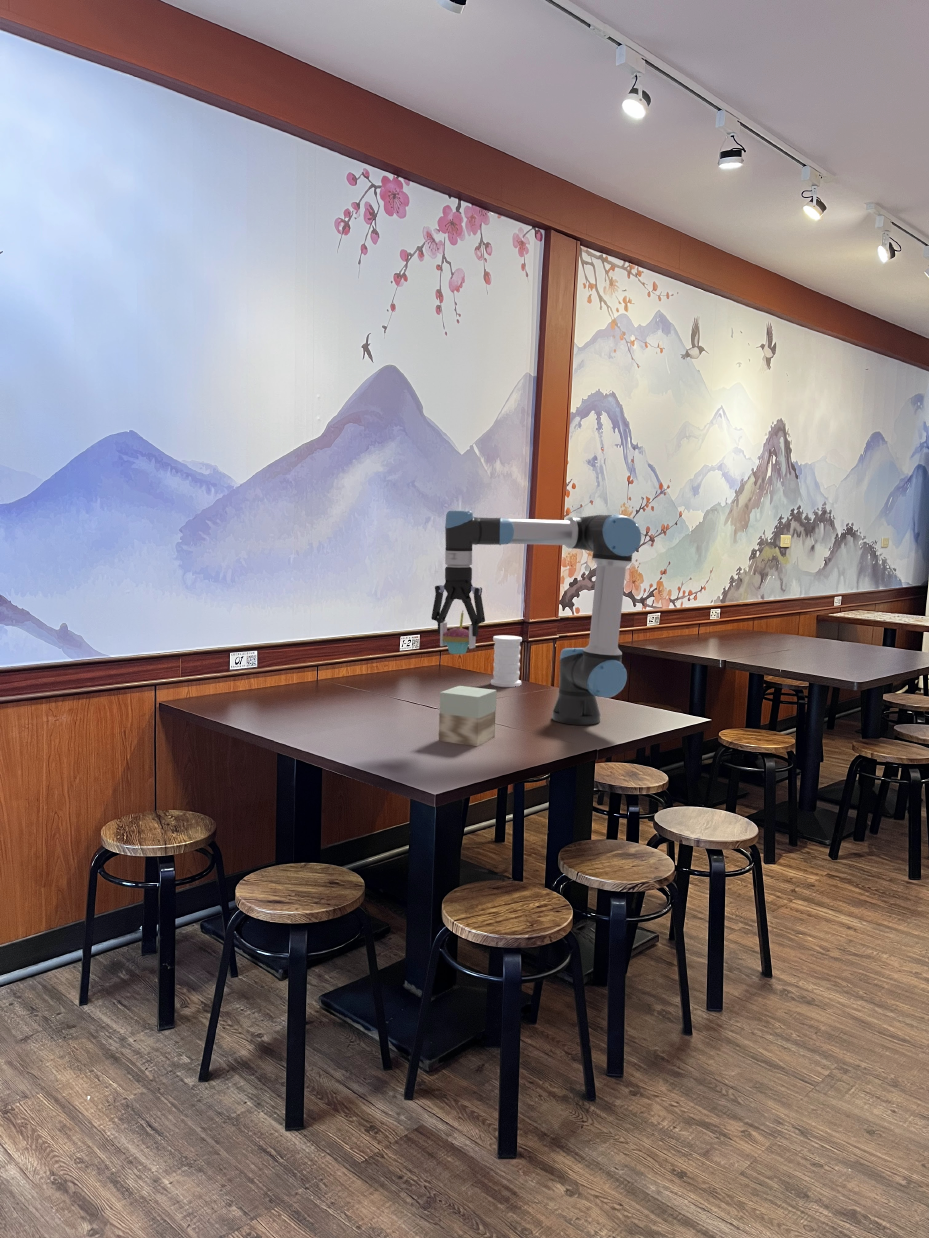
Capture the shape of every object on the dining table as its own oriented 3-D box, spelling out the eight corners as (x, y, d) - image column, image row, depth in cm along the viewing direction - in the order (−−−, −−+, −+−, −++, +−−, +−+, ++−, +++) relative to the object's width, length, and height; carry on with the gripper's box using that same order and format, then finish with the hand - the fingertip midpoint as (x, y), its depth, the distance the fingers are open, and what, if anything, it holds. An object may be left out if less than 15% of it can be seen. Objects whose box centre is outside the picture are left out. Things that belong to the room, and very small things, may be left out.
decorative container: (487, 681, 354) (489, 635, 352) (517, 681, 356) (518, 635, 354) (494, 687, 343) (495, 639, 341) (524, 687, 345) (526, 639, 343)
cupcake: (456, 649, 265) (456, 608, 264) (479, 652, 260) (479, 610, 258) (436, 653, 258) (436, 610, 257) (459, 656, 253) (459, 613, 252)
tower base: (494, 737, 265) (495, 710, 264) (477, 746, 254) (478, 718, 254) (457, 732, 270) (458, 705, 269) (438, 741, 259) (439, 713, 259)
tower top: (496, 710, 264) (496, 690, 263) (478, 718, 253) (478, 697, 253) (458, 705, 269) (459, 685, 269) (439, 713, 259) (440, 692, 258)
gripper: (418, 565, 257) (418, 645, 260) (487, 568, 248) (486, 651, 251) (431, 564, 264) (430, 642, 267) (498, 566, 255) (497, 647, 258)
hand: (457, 646), depth 259 cm, fingers closed on cupcake, 8 cm apart
